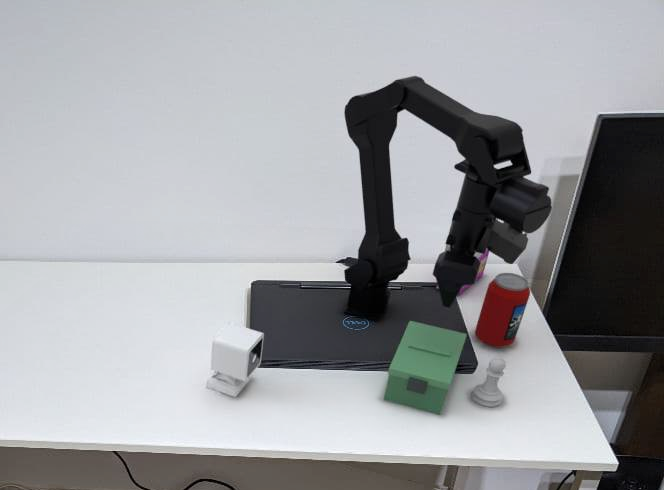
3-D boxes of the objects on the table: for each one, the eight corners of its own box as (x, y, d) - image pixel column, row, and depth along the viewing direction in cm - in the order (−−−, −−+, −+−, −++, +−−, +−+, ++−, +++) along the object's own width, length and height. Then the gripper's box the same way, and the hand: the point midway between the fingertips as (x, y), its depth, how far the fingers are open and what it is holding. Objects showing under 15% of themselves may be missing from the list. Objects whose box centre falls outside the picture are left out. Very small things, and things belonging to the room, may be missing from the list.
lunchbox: (381, 401, 138) (388, 367, 133) (403, 349, 149) (410, 317, 145) (440, 417, 134) (450, 383, 130) (458, 363, 146) (468, 330, 141)
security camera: (242, 401, 138) (247, 350, 132) (204, 388, 141) (207, 337, 135) (259, 381, 142) (264, 331, 136) (221, 368, 145) (225, 319, 139)
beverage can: (516, 352, 148) (536, 292, 141) (475, 348, 149) (493, 288, 142) (510, 331, 153) (529, 272, 146) (471, 327, 154) (488, 269, 147)
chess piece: (477, 408, 136) (490, 367, 131) (466, 390, 140) (478, 350, 135) (506, 406, 136) (520, 366, 131) (493, 389, 140) (507, 349, 135)
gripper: (525, 243, 121) (494, 334, 131) (539, 192, 134) (511, 278, 144) (444, 227, 125) (420, 316, 134) (466, 178, 137) (443, 263, 147)
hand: (451, 293), depth 140 cm, fingers open, 9 cm apart
